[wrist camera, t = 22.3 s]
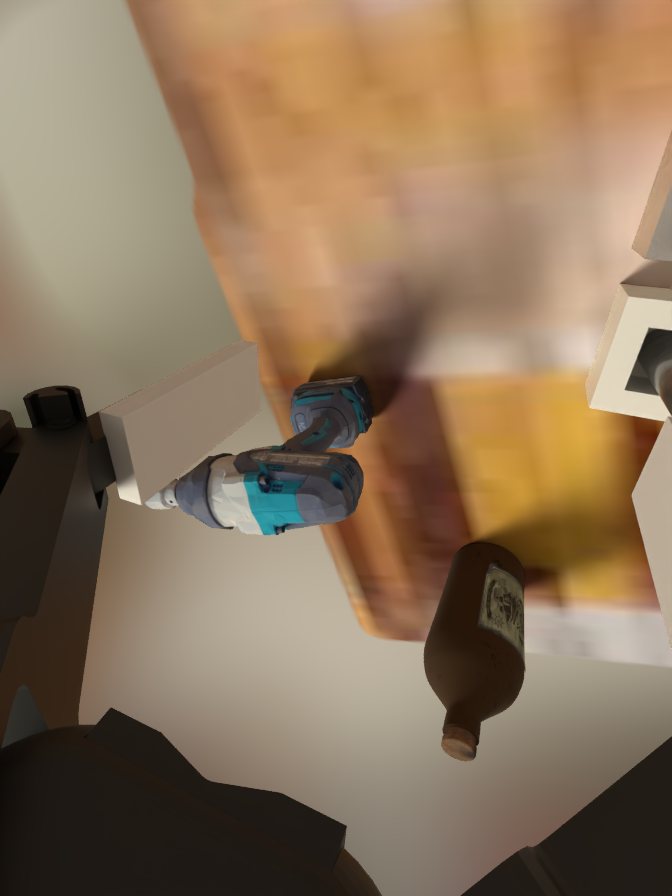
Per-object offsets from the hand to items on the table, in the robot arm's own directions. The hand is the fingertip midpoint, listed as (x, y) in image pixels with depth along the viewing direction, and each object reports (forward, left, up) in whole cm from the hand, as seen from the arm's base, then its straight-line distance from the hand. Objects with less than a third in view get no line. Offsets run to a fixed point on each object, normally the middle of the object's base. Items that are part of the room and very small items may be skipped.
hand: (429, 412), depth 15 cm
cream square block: (+6, +15, -37) cm, 40 cm away
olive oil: (+39, +6, -37) cm, 54 cm away
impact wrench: (+19, -18, -37) cm, 45 cm away
